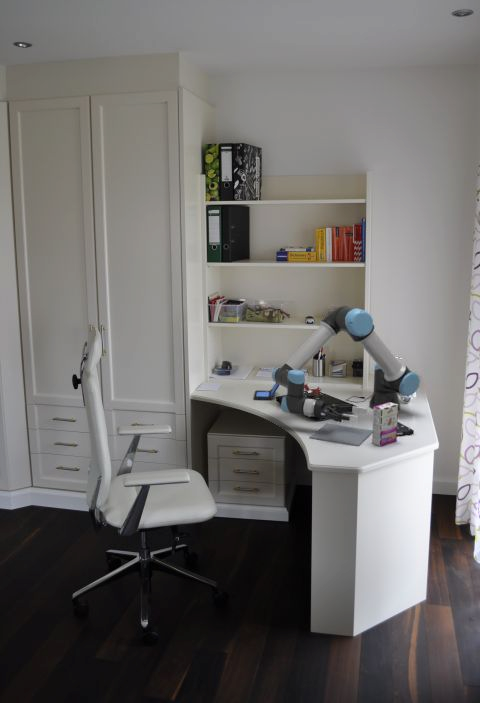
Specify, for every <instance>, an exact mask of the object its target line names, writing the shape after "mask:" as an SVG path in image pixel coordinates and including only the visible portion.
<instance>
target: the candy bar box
mask: <svg viewBox="0 0 480 703" xmlns="http://www.w3.org/2000/svg"><path fill="white" fill-rule="evenodd" d="M398 418H399V410H398V404H395V403H391V402H389V403H385V404H382V405H378V406H375V407H373V409H372V430H373V431H372V434H371V436H372V438H371V443H372V445H374V446H378V447H382V446H383V447H384V446H386V445H389V444H392V443H395V442H397V440H398V437H397V422H399V421H398Z"/></svg>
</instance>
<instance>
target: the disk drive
mask: <svg viewBox="0 0 480 703" xmlns="http://www.w3.org/2000/svg"><path fill="white" fill-rule="evenodd" d="M412 434H413V435H414V434H415V433H414V429H412V428H410V427H409V426H407V425H405V424H403V423H401V422H400V421H398V422H397V438H398V436H399V437H406V436H405V435H408V436H413V435H412Z"/></svg>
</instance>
